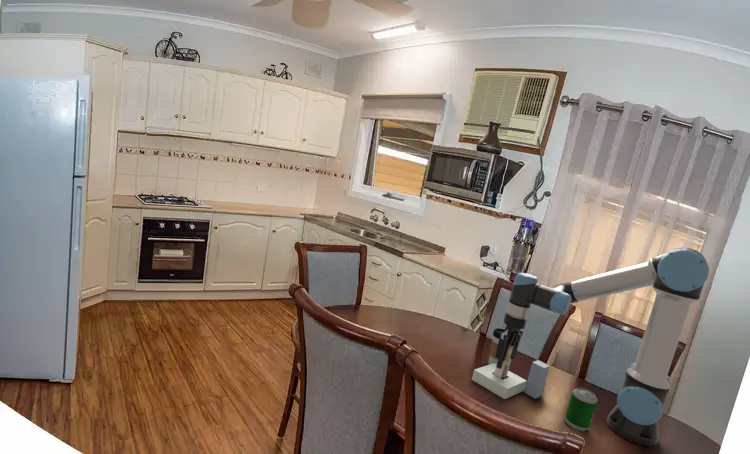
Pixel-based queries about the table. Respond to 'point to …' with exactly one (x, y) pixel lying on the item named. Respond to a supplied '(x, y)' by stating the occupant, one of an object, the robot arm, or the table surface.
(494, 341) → the coffee cup
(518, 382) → the socket block
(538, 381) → the square peg
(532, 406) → the table surface
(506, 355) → the oak dowel
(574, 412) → the soda can
